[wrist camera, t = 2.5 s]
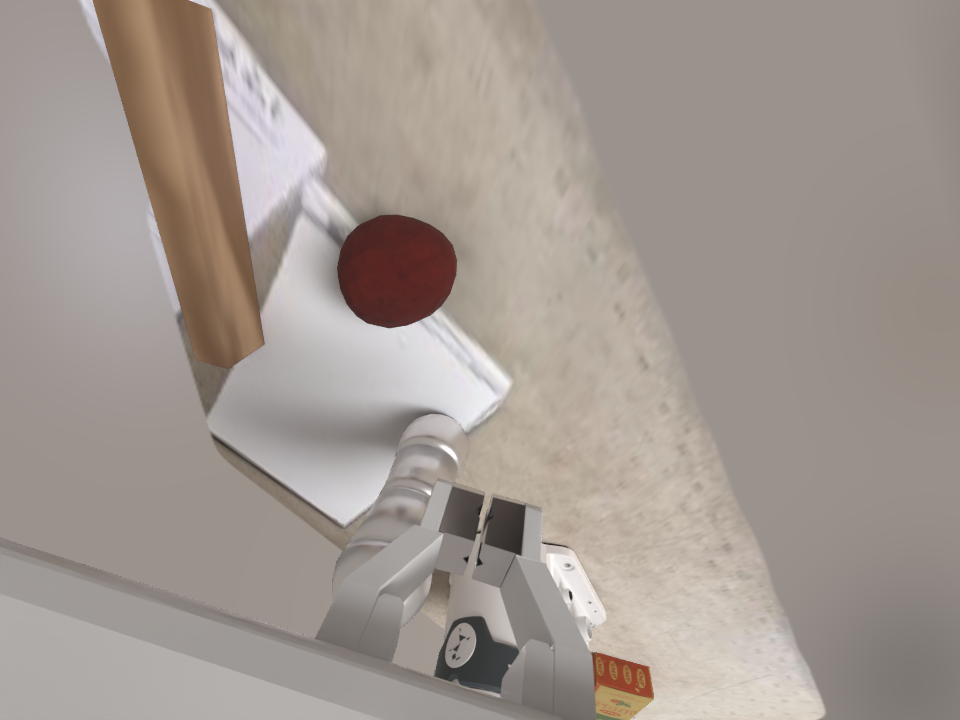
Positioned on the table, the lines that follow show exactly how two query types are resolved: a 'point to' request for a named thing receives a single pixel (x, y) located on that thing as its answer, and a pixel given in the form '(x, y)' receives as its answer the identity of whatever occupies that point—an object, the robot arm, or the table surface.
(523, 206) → the table surface
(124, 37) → the board
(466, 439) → the plastic bottle
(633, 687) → the carton
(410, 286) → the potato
